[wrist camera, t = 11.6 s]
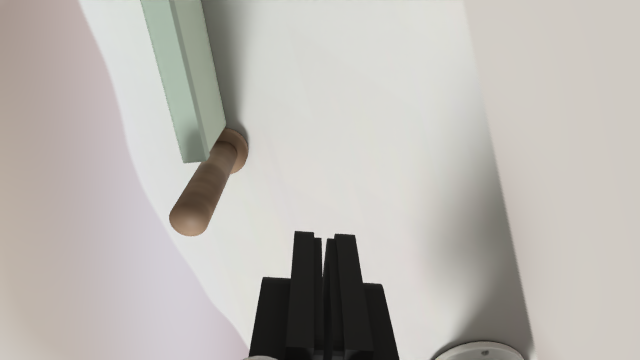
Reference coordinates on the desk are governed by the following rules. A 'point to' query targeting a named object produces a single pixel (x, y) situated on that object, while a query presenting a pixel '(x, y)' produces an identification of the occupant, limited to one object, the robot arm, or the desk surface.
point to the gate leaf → (186, 74)
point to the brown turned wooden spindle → (208, 184)
